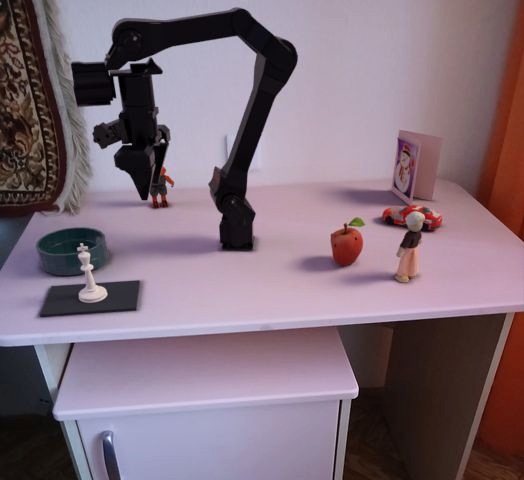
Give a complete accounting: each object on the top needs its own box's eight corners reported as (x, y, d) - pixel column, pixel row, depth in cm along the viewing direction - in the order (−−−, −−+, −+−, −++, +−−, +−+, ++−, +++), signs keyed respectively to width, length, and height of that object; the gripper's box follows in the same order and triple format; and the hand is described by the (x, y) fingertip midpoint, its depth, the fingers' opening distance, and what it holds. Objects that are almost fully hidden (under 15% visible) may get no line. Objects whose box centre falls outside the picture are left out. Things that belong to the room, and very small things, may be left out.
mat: (139, 282, 101) (139, 280, 100) (136, 310, 92) (135, 307, 92) (51, 288, 99) (51, 285, 99) (40, 317, 91) (39, 314, 91)
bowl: (116, 247, 113) (112, 227, 110) (97, 277, 102) (93, 255, 100) (55, 246, 113) (50, 226, 111) (31, 276, 103) (24, 254, 100)
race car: (378, 223, 122) (380, 205, 120) (386, 214, 126) (388, 198, 124) (436, 234, 117) (439, 216, 114) (442, 225, 120) (446, 208, 118)
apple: (320, 264, 106) (323, 216, 100) (336, 252, 110) (340, 204, 104) (355, 275, 102) (361, 225, 96) (371, 261, 107) (377, 213, 101)
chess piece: (108, 300, 94) (97, 247, 88) (79, 305, 93) (66, 252, 87) (106, 287, 98) (95, 236, 92) (78, 291, 97) (66, 240, 91)
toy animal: (145, 212, 129) (138, 161, 122) (143, 204, 133) (135, 154, 126) (178, 208, 130) (173, 158, 123) (175, 200, 135) (169, 151, 128)
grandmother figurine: (409, 287, 98) (420, 221, 91) (389, 281, 100) (398, 216, 92) (423, 270, 103) (434, 206, 96) (403, 265, 105) (413, 202, 98)
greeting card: (388, 190, 139) (395, 129, 130) (414, 188, 140) (423, 127, 131) (407, 206, 130) (417, 142, 121) (435, 203, 131) (447, 140, 122)
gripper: (108, 92, 101) (121, 175, 111) (75, 115, 86) (93, 209, 96) (166, 92, 101) (175, 175, 110) (143, 116, 86) (155, 210, 95)
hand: (150, 191), depth 103 cm, fingers open, 9 cm apart
